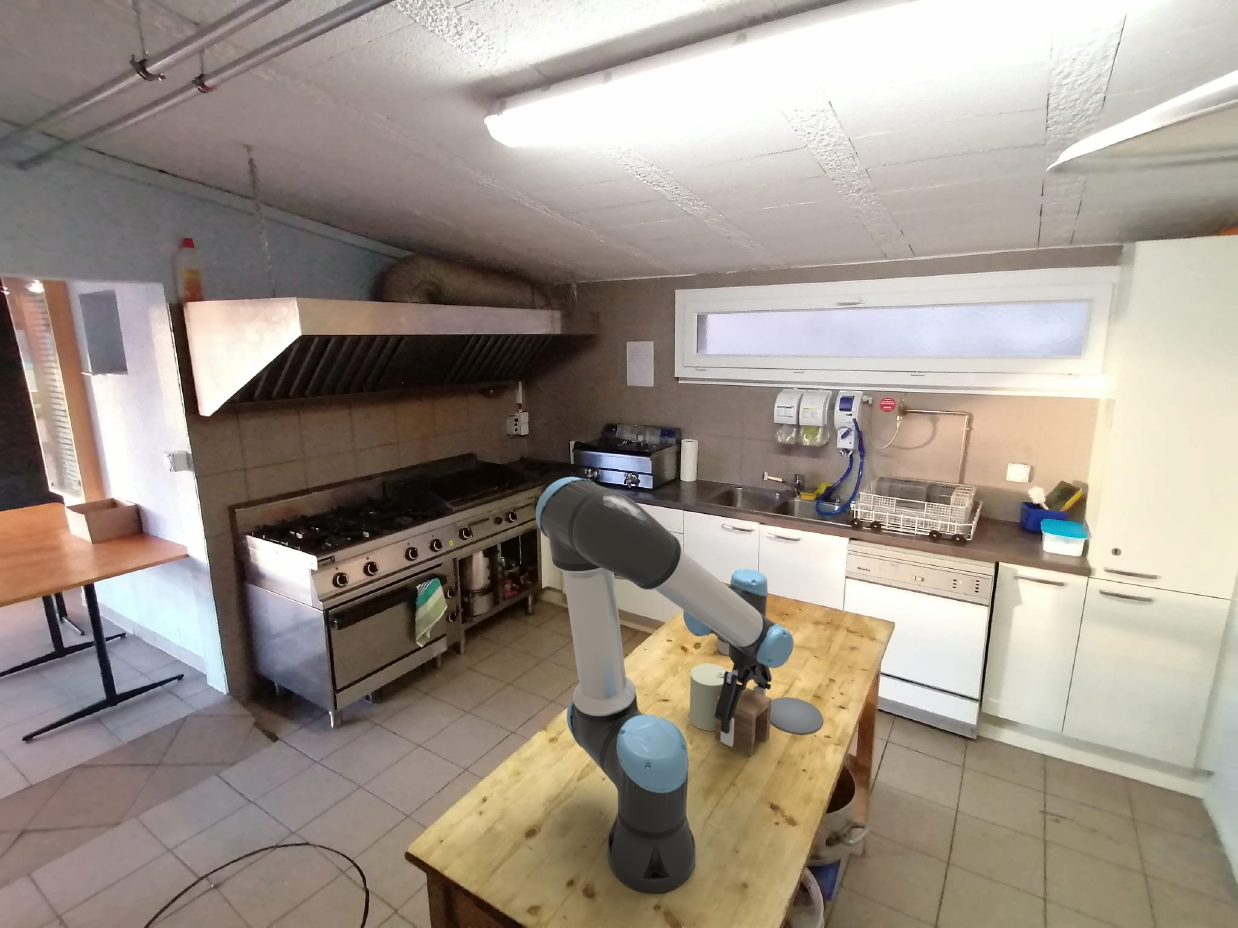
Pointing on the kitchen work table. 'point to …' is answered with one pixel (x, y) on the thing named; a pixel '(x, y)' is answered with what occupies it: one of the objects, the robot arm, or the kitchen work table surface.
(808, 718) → the rubber mat
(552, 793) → the kitchen work table surface
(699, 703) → the can
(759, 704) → the wooden stool
